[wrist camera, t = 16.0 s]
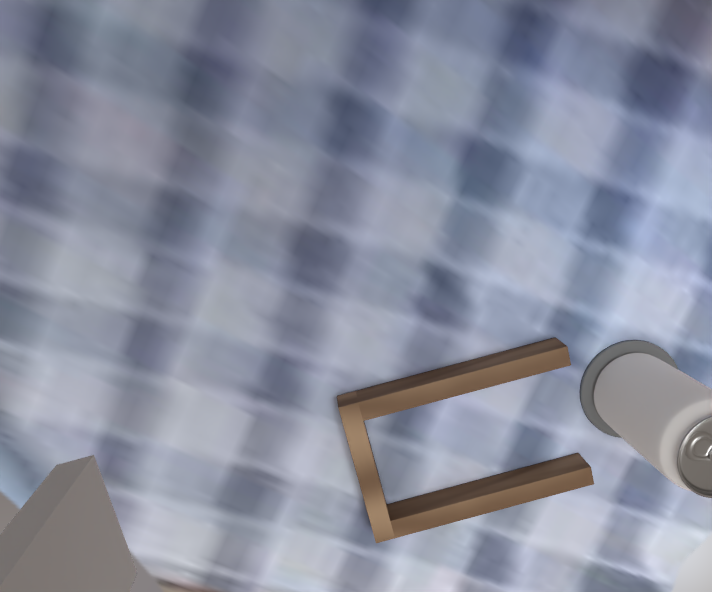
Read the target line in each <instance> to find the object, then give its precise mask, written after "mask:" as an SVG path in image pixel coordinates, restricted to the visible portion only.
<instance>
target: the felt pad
mask: <svg viewBox="0 0 712 592" xmlns="http://www.w3.org/2000/svg"><path fill="white" fill-rule="evenodd" d="M631 353H645V354H649V355H652V356H654V357H656V358H658V359H660V360H662V361H664V362H665V363H667V364H669V365H671V366H672V367H674V368H676V369H678V368H677V366H676V364H675V362H674V360H673V359H672V358H671V356H670V355H669V354H668V353H667V352H666V351H664V350H663V349H661V348H660V347H658V346H656V345H654V344H652V343H649V342H646V341H641V340H628V341H623V342H619V343H616V344H613V345H611V346H609V347H607V348H606V349H604V350H603V351H601V352H600V353H599V354H598V355H597V356H596V357H595V358H594V359H593V360H592V361H591V363H590V364H589V365H588V367H587V369H586V371H585V373H584V375H583V378H582V381H581V386H580V400H581V405H582V408H583V410H584V413H585V414H586V416H587V418H588V419H589V420H590V421H591V423H592V424H593V425H595V426H596V427H597V428H598V429H599V430H601V431H602V432H604V433H606V434H608V435H611V436H615V437H620V438H622V437H621V436H620V435H619V434H617V433H616V432H615V431H614V430H613V429H612V428H611V427H610V426H609V425H608V424H607V423H606V422H605V421H604V420H603V419H602V418H601V417H600V415H599V414H598V412H597V410H596V407H595V404H594V389H595V385H596V382H597V379H598V377H599V375H600V373H601V372H602V370H603V369H604V368H605V367H606V366H607V365H608V364H609V363H611V362H612V361H613V360H615V359H617V358H619V357H621V356H623V355H626V354H631Z"/></svg>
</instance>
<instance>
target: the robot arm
mask: <svg viewBox="0 0 712 592" xmlns="http://www.w3.org/2000/svg"><path fill="white" fill-rule="evenodd" d="M136 576H137V571H136V568H135V565H134V562H133V560H132V557H131V554H130V552H129V549H128V546H127V543H126V541H125V538H124V535H123V533H122V530H121V527H120V525H119V522H118V519H117V517H116V514H115V511H114V508H113V506H112V503H111V500H110V498H109V495H108V492H107V490H106V487H105V484H104V481H103V479H102V476H101V473H100V471H99V468H98V465H97V463H96V460H95V457H94V455H92V456H89V457H85V458H81V459H77V460H74V461H70V462H66V463H62V464H59V465H56V466H55V468H54V469H53V470H52V471H51V472H50V474H49V475H48V476H47V477H46V479H45V480H44V481H43V482H42V484H41V485H40V486H39V487H38V488H37V490H36V491H35V492H34V493H33V495H32V496H31V497H30V498H29V500H28V501H27V502H26V503H25V504H24V506H23V507H22V508H21V509H20V511H19V512H18V513H17V514H16V516H15V517H14V518H13V519H12V520H11V522H10V523H9V524H8V525H7V527H6V528H5V529H4V530H3V532H2V533H1V534H0V592H130V590H131V588H132V585H133V583H134V580H135V578H136Z"/></svg>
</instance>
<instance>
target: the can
mask: <svg viewBox="0 0 712 592" xmlns="http://www.w3.org/2000/svg"><path fill="white" fill-rule="evenodd" d="M594 404H595V407H596V410H597V412H598V414H599V415H600V417H601V418H602V419H603V420H604V421H605V422H606V423H607V424H608V425H609V426H610V427H611V428H612V429H613V430H614V431H615V432H616V433H617V434H619V435H620V436H621V437H622V438H623V439H624V440H625V441H626V442H627V443H628V444H630V445H631V446H632V447H633V448H634V449H635V450H636V451H637V452H638V453H640V454H641V455H642V456H643V457H644V458H645V459H646V460H647V461H648V462H650V463H651V464H652V465H653V466H654V467H655V468H656V469H657V470H659V471H660V472H661V473H662V474H663V475H664V476H665V477H667V478H668V479H669V480H670V481H671V482H673V483H674V484H676V485H677V486H679V487H681V488H683V489H686V490H689V491H693V492H694V493H696V494H698V495H700V496H703V497H708V498H712V389H710V388H709V387H707V386H705V385H704V384H702V383H700V382H698V381H697V380H695V379H693V378H692V377H690V376H688V375H686V374H685V373H683V372H681V371H679V370H678V369H676V368H674V367H672V366H671V365H669V364H667V363H665V362H664V361H662V360H660V359H658V358H656V357H654V356H652V355H649V354H645V353H631V354H626V355H623V356H621V357H619V358H617V359H615V360H613V361H612V362H611V363H609V364H608V365H607V366H606V367H605V368H604V369H603V370H602V372H601V373H600V375H599V377H598V379H597V382H596V385H595V389H594Z"/></svg>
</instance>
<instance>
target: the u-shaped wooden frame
mask: <svg viewBox="0 0 712 592" xmlns="http://www.w3.org/2000/svg"><path fill="white" fill-rule="evenodd" d="M570 365H571V363H570V358H569V353H568V347H567V346H566V345H565V344H563V343H562V342H561V341H559V340H558V339H557V338H551V339H548V340H544V341H540V342H536V343H533V344H529V345H525V346H522V347H518V348H514V349H510V350H507V351H503V352H499V353H495V354H492V355H488V356H484V357H481V358H477V359H473V360H469V361H466V362H462V363H458V364H454V365H451V366H447V367H443V368H439V369H436V370H432V371H428V372H425V373H421V374H417V375H413V376H410V377H406V378H402V379H398V380H395V381H391V382H387V383H383V384H380V385H376V386H372V387H369V388H365V389H361V390H357V391H354V392H350V393H346V394H342V395H339V396H337V400H338V408H339V412H340V415H341V419H342V422H343V426H344V429H345V433H346V437H347V440H348V444H349V447H350V451H351V455H352V458H353V462H354V465H355V469H356V472H357V476H358V480H359V483H360V487H361V490H362V494H363V498H364V501H365V505H366V508H367V512H368V515H369V519H370V523H371V526H372V530H373V533H374V537H375V541H376V543H379V542H382V541H386V540H390V539H393V538H397V537H401V536H405V535H408V534H412V533H416V532H419V531H423V530H427V529H430V528H434V527H438V526H441V525H445V524H449V523H452V522H456V521H460V520H463V519H467V518H471V517H475V516H478V515H482V514H486V513H489V512H493V511H497V510H500V509H504V508H508V507H511V506H515V505H519V504H522V503H526V502H530V501H533V500H537V499H541V498H545V497H548V496H552V495H556V494H559V493H563V492H567V491H570V490H574V489H578V488H581V487H585V486H589V485H592V484H594V481H593V476H592V471H591V467H590V465H589V464H588V463H587V462H586V461H585V460H584V459H583V458H582V457H581V456H580V454H579V453H576V454H572V455H568V456H565V457H561V458H557V459H554V460H550V461H546V462H542V463H539V464H535V465H531V466H528V467H524V468H520V469H517V470H513V471H509V472H506V473H502V474H498V475H494V476H491V477H487V478H483V479H480V480H476V481H472V482H469V483H465V484H461V485H458V486H454V487H450V488H446V489H443V490H439V491H435V492H432V493H428V494H424V495H421V496H417V497H413V498H409V499H406V500H402V501H398V502H395V503H391V504H386V500H385V497H384V493H383V489H382V486H381V482H380V478H379V474H378V471H377V467H376V463H375V460H374V456H373V452H372V449H371V445H370V441H369V438H368V434H367V430H366V427H365V423H364V421H365V420H369V419H372V418H376V417H380V416H383V415H387V414H391V413H395V412H398V411H402V410H406V409H410V408H413V407H417V406H421V405H424V404H428V403H432V402H436V401H439V400H443V399H447V398H450V397H454V396H458V395H462V394H465V393H469V392H473V391H477V390H480V389H484V388H488V387H491V386H495V385H499V384H503V383H506V382H510V381H514V380H517V379H521V378H525V377H529V376H532V375H536V374H540V373H544V372H547V371H551V370H555V369H558V368H562V367H566V366H570Z"/></svg>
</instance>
